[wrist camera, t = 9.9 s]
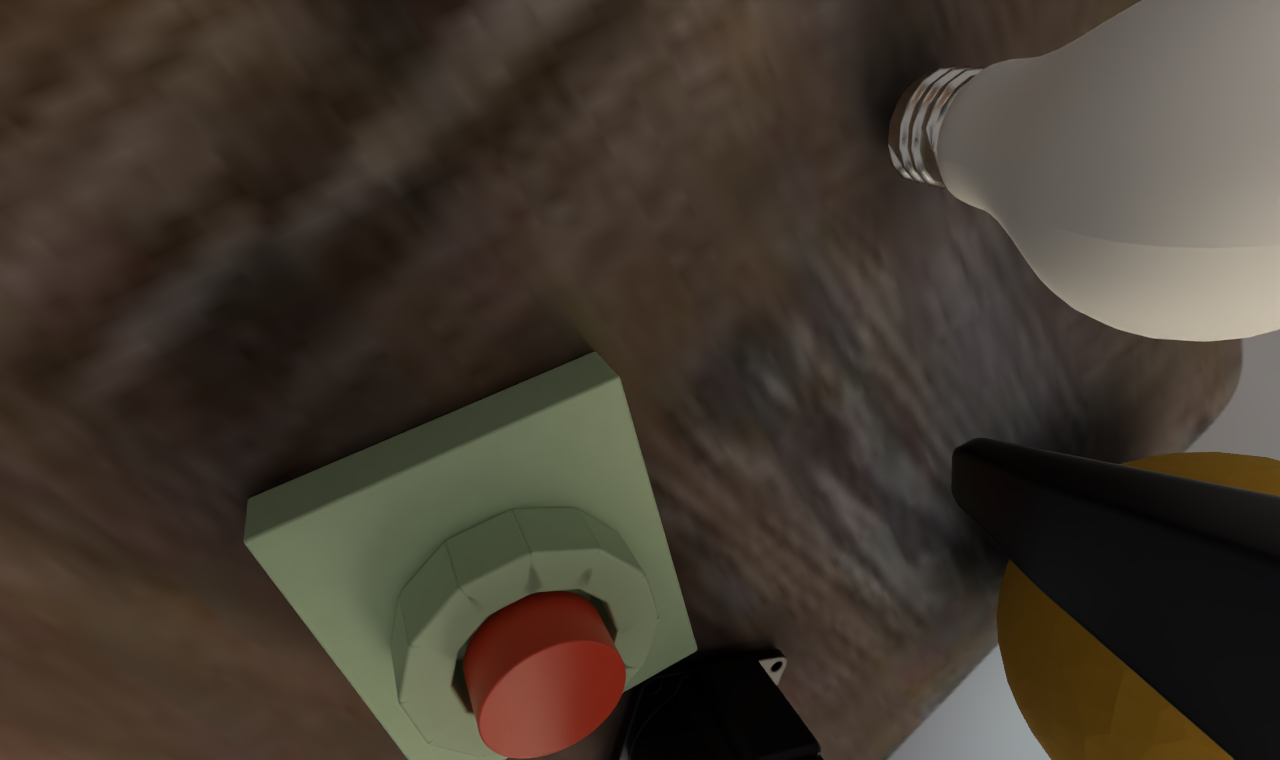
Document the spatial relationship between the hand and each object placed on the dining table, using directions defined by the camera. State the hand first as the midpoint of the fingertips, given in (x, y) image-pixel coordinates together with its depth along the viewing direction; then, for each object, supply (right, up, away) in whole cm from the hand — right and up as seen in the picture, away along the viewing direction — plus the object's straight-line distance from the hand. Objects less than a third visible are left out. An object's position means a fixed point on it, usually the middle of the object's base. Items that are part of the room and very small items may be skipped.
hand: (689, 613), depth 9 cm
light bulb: (+7, +10, +10) cm, 16 cm away
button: (-3, -4, +8) cm, 10 cm away
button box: (-5, -2, +11) cm, 12 cm away
